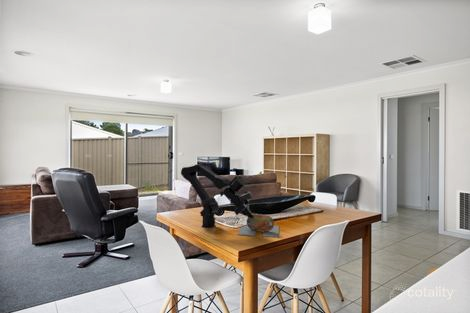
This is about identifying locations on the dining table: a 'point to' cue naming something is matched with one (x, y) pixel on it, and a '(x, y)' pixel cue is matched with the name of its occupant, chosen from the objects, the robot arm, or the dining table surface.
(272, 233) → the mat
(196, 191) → the robot arm
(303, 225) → the dining table surface
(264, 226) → the tin
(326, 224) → the dining table surface
